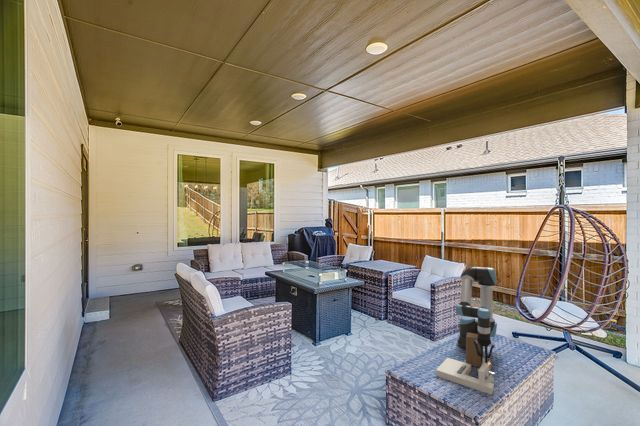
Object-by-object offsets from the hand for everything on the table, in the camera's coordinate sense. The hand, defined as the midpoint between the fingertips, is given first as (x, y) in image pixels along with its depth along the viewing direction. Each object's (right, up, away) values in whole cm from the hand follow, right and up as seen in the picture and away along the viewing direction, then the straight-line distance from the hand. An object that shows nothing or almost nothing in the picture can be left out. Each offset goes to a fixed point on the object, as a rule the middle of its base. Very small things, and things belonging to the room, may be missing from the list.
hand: (484, 367), depth 207 cm
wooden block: (+1, -5, +15) cm, 16 cm away
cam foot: (-1, -5, -5) cm, 7 cm away
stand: (-13, -5, -3) cm, 14 cm away
